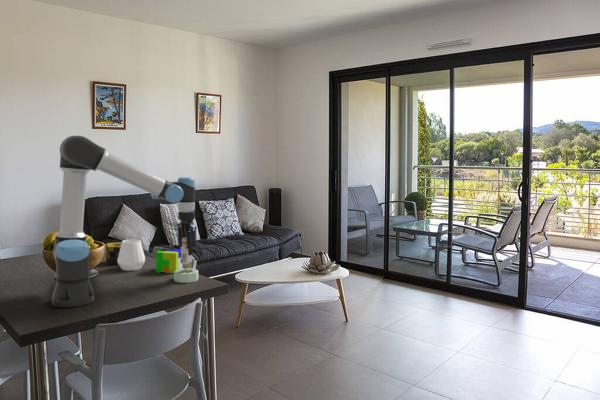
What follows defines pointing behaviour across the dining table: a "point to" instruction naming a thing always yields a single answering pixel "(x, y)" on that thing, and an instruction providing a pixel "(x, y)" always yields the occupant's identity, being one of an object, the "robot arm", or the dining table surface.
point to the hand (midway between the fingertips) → (186, 260)
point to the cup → (131, 255)
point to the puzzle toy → (168, 260)
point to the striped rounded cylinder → (185, 264)
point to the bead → (186, 275)
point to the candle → (112, 253)
